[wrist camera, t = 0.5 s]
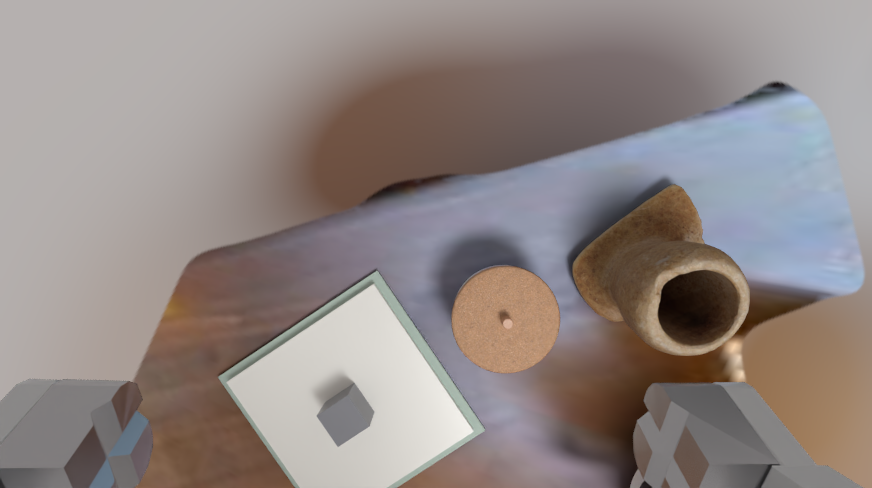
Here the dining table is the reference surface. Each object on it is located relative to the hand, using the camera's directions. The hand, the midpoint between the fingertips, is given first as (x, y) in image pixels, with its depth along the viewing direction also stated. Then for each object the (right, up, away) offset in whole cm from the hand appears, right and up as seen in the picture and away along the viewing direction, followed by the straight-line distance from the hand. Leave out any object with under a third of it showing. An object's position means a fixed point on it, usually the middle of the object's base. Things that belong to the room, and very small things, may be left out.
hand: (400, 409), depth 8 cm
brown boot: (+24, 0, +50) cm, 55 cm away
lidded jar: (+8, -4, +50) cm, 51 cm away
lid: (-9, -16, +50) cm, 53 cm away
